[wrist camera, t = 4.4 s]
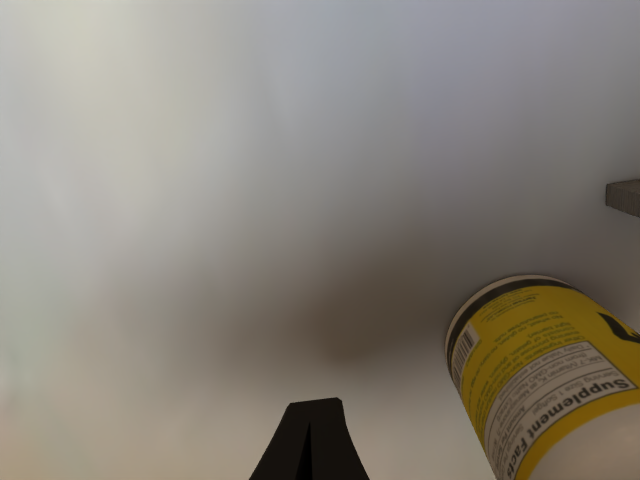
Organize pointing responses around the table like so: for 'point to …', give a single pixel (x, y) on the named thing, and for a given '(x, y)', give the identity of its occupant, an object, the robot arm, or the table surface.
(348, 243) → the table surface
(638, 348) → the supplement bottle
